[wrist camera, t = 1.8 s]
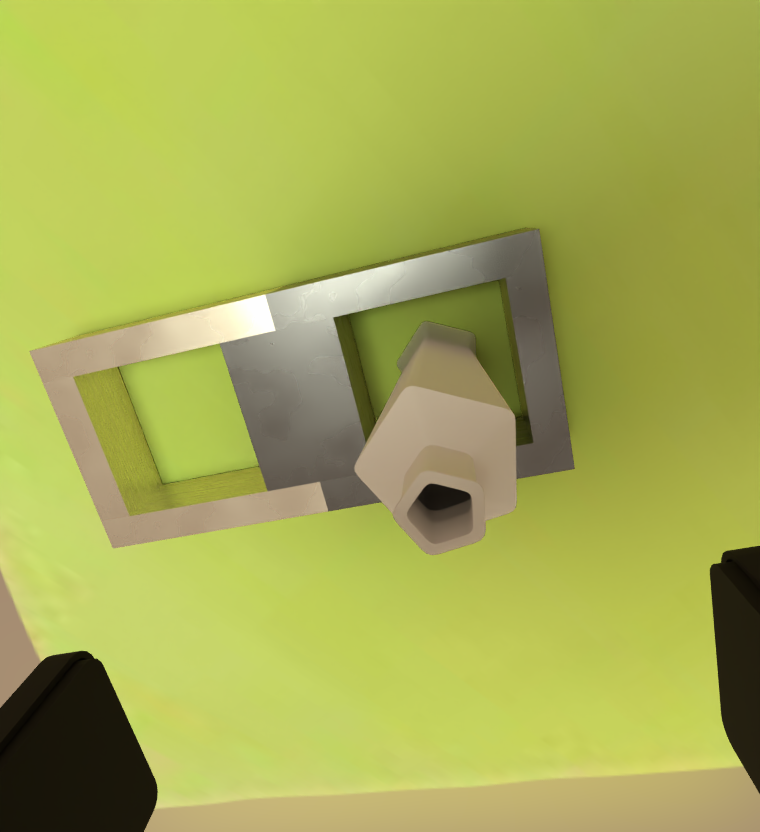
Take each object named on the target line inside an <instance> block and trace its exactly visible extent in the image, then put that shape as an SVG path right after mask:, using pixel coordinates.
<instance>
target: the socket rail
mask: <svg viewBox="0 0 760 832" xmlns="http://www.w3.org/2000/svg"><path fill="white" fill-rule="evenodd" d="M494 280H499V285H500V290H501V296H502V302H503V308H504V314H505V319H506V325H507V331H508V337H509V343H510V348H511V354H512V360H513V366H514V372H515V377H516V383H517V389H518V395H519V401H520V406H521V412H522V417H517V418H515V423H516V479H519V478H524V477H530V476H536V475H542V474H548V473H553V472H559V471H565V470H571V469H575V468H574V461H573V455H572V448H571V441H570V434H569V428H568V421H567V414H566V407H565V401H564V394H563V387H562V380H561V374H560V367H559V360H558V353H557V347H556V340H555V333H554V326H553V320H552V313H551V306H550V300H549V293H548V286H547V279H546V273H545V266H544V259H543V252H542V246H541V239H540V232H539V229H535V228H522V229H518V230H514V231H510V232H506V233H502V234H497V235H493V236H489V237H485V238H481V239H477V240H472V241H468V242H464V243H460V244H456V245H452V246H448V247H443V248H439V249H435V250H431V251H427V252H423V253H419V254H414V255H410V256H406V257H402V258H398V259H394V260H390V261H385V262H381V263H377V264H373V265H369V266H365V267H361V268H356V269H352V270H348V271H344V272H340V273H336V274H332V275H327V276H323V277H319V278H315V279H311V280H307V281H303V282H298V283H294V284H290V285H286V286H282V287H278V288H273V289H269V290H265V291H261V292H257V293H253V294H249V295H244V296H240V297H236V298H232V299H228V300H224V301H220V302H215V303H211V304H207V305H203V306H199V307H195V308H191V309H186V310H182V311H178V312H174V313H170V314H166V315H162V316H157V317H153V318H149V319H145V320H141V321H137V322H133V323H128V324H124V325H120V326H116V327H112V328H108V329H104V330H99V331H95V332H91V333H87V334H83V335H79V336H75V337H72V338H69V339H66V340H63V341H59V342H56V343H53V344H50V345H47V346H44V347H41V348H38V349H35V350H32V351H30V354H31V356H32V359H33V361H34V363H35V366H36V368H37V370H38V373H39V375H40V377H41V380H42V382H43V384H44V387H45V389H46V392H47V394H48V396H49V399H50V401H51V403H52V406H53V408H54V410H55V413H56V415H57V417H58V420H59V422H60V425H61V427H62V429H63V432H64V434H65V436H66V439H67V441H68V443H69V446H70V448H71V450H72V453H73V455H74V458H75V460H76V462H77V465H78V467H79V469H80V472H81V474H82V476H83V479H84V481H85V483H86V486H87V488H88V491H89V493H90V495H91V498H92V500H93V502H94V505H95V507H96V509H97V512H98V514H99V516H100V519H101V521H102V523H103V526H104V528H105V531H106V533H107V535H108V538H109V540H110V542H111V545H112V547H113V548H118V547H124V546H130V545H135V544H141V543H147V542H153V541H159V540H164V539H170V538H176V537H182V536H188V535H193V534H199V533H205V532H211V531H217V530H222V529H228V528H234V527H240V526H246V525H251V524H257V523H263V522H269V521H275V520H281V519H286V518H292V517H298V516H304V515H310V514H315V513H321V512H327V511H333V510H339V509H344V508H350V507H356V506H362V505H368V504H373V503H379V502H381V500H380V499H379V498H378V497H377V496H376V495H375V494H374V493H373V492H372V491H371V490H370V489H369V487H368V486H367V485H366V484H365V483H364V482H363V481H362V480H361V479H360V478H359V477H358V475H357V474H356V472H355V464H356V462H357V460H358V458H359V456H360V454H361V452H362V450H363V448H364V446H365V444H366V442H367V440H368V438H369V436H370V434H371V432H372V430H373V428H374V426H375V425H376V422H375V418H374V414H373V410H372V406H371V402H370V398H369V394H368V390H367V386H366V382H365V378H364V374H363V371H362V367H361V363H360V359H359V355H358V351H357V347H356V343H355V339H354V335H353V331H352V327H351V323H350V319H349V315H348V314H350V313H354V312H359V311H363V310H367V309H372V308H376V307H381V306H385V305H389V304H394V303H398V302H402V301H407V300H411V299H415V298H420V297H424V296H429V295H433V294H437V293H442V292H446V291H450V290H455V289H459V288H464V287H468V286H472V285H477V284H481V283H485V282H490V281H494ZM219 343H220V346H221V349H222V352H223V355H224V358H225V361H226V364H227V367H228V371H229V374H230V377H231V380H232V383H233V386H234V389H235V392H236V395H237V398H238V401H239V405H240V408H241V411H242V414H243V417H244V420H245V423H246V426H247V429H248V432H249V435H250V439H251V442H252V445H253V448H254V451H255V454H256V457H257V460H258V463H259V466H258V467H253V468H248V469H242V470H237V471H232V472H227V473H221V474H216V475H211V476H205V477H200V478H195V479H190V480H184V481H179V482H174V483H168V484H162V482H161V479H160V476H159V474H158V471H157V468H156V466H155V463H154V461H153V458H152V455H151V453H150V450H149V447H148V445H147V442H146V440H145V437H144V434H143V432H142V429H141V426H140V424H139V421H138V419H137V416H136V413H135V411H134V408H133V406H132V403H131V400H130V398H129V395H128V392H127V390H126V387H125V385H124V382H123V379H122V377H121V374H120V371H119V369H118V366H122V365H127V364H131V363H136V362H140V361H144V360H149V359H153V358H157V357H162V356H166V355H171V354H175V353H179V352H184V351H188V350H192V349H197V348H201V347H206V346H210V345H214V344H219Z"/></svg>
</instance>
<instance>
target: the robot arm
mask: <svg viewBox="0 0 760 832" xmlns="http://www.w3.org/2000/svg"><path fill="white" fill-rule="evenodd" d="M710 580H711V592H712V605H713V617H714V630H715V642H716V655H717V667H718V679H719V692H720V704H721V715H722V721H723V725H724V728H725V731H726V734H727V737H728V739H729V741H730V743H731V745H732V747H733V749H734V751H735V752H736V754H737V756H738V757H739V759H740V761H741V763H742V764H743V766H744V768H745V769H746V771H747V773H748V775H749V776H750V778H751V780H752V781H753V783H754V785H755V786H756V788H757V790H758V792H759V793H760V546H756V547H749V548H743V549H736V550H730V551H725V552H724V553H723V555H722V558H721V563H718V564H713V565H711V568H710ZM157 792H158V791H157V784H156V780H155V778H154V776H153V774H152V772H151V769H150V767H149V765H148V763H147V761H146V758H145V756H144V754H143V752H142V750H141V747H140V745H139V743H138V741H137V739H136V736H135V734H134V732H133V730H132V728H131V725H130V723H129V721H128V719H127V717H126V714H125V712H124V710H123V708H122V706H121V703H120V701H119V699H118V697H117V695H116V692H115V690H114V688H113V686H112V684H111V681H110V679H109V677H108V675H107V673H106V670H105V668H104V666H103V664H102V663H101V661H99V660H98V659H94V657H93V656H92V655H91V654H90V653H88V652H87V651H78V652H71V653H65V654H58V655H52V656H49V657H47V658H45V659H44V660H43V661H42V662H41V663H40V664H39V665H38V666H37V667H36V668H35V669H34V671H33V672H32V673H31V674H30V675H29V676H28V677H27V679H26V680H25V681H24V682H23V683H22V684H21V685H20V687H19V688H18V689H17V690H16V691H15V692H14V693H13V694H12V696H11V697H10V698H9V699H8V700H7V701H6V702H5V703H4V704H3V706H2V707H1V708H0V832H144V830H145V828H146V826H147V824H148V822H149V819H150V817H151V815H152V813H153V811H154V808H155V805H156V801H157Z"/></svg>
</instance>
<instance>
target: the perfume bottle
mask: <svg viewBox="0 0 760 832" xmlns="http://www.w3.org/2000/svg"><path fill="white" fill-rule="evenodd" d="M397 366H398V368H399V369H400V371H401V372H402V374H401V376H400V378H399V379H398V381H397V383H396V385H395V387H394V389H393V391H392V393H391V395H390V397H389V399H388V401H387V403H386V405H385V407H384V409H383V411H382V413H381V415H380V417H379V419H378V421H377V423H376V425H375V426H374V428H373V430H372V432H371V434H370V436H369V438H368V440H367V442H366V444H365V446H364V448H363V450H362V452H361V454H360V456H359V458H358V460H357V462H356V464H355V472H356V474H357V475H358V477H359V478H360V479H361V480H362V481H363V482H364V483H365V484H366V485H367V486H368V487H369V489H370V490H371V491H372V492H373V493H374V494H375V495H376V496H377V497H378V498H379V499H380V500H381V502H382V503H383V504H384V505H385V506H386V507H387V508H388V509H389V510H390V511H391V512H392V513H393V518H394V519H395V521H396V522H397V523H398V525H399V526H400V527H401V528H402V529H403V530H404V531H405V532H406V533H407V534H408V535H409V536H410V538H411V539H412V540H413V541H414V542H415V543H416V544H417V545H418V546H419V547H420V548H421V549H422V550H423V551H424V552H425V553H427V554H430V555H436V554H441V553H444V552H447V551H450V550H453V549H457V548H460V547H463V546H466V545H469V544H473V543H476V542H478V541H480V540H481V539H482V538H483V537H484V535H485V530H486V524H485V521H486V520H489V519H493V518H496V517H499V516H502V515H505V514H508V513H510V512H512V511H513V510H514V509H515V508H516V503H517V491H516V423H515V416H514V414H513V412H512V411H511V409H510V408H509V406H508V405H507V403H506V402H505V400H504V399H503V397H502V396H501V394H500V393H499V391H498V390H497V388H496V387H495V385H494V384H493V382H492V381H491V379H490V378H489V376H488V375H487V373H486V372H485V370H484V369H483V367H482V366H481V364H480V363H479V361H478V360H477V358H476V338H475V335H474V334H473V333H472V332H469V331H465V330H461V329H457V328H453V327H449V326H445V325H441V324H437V323H433V322H428V321H425V322H422V324H421V325H420V326H419V328H418V329H417V331H416V332H415V334H414V336H413V337H412V339H411V340H410V342H409V343H408V345H407V347H406V348H405V350H404V351H403V353H402V355H401V356H400V358H399V359H398V361H397Z"/></svg>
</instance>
